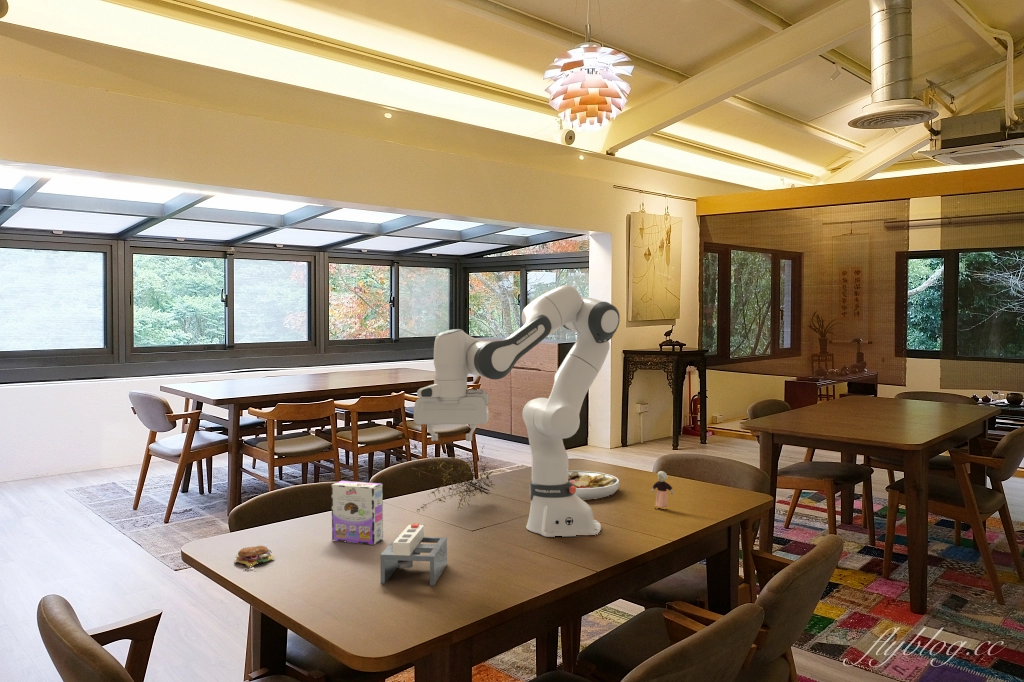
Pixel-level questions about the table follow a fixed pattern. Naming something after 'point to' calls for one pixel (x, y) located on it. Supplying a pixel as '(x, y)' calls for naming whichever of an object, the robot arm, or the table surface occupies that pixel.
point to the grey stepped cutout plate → (417, 558)
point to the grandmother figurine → (662, 490)
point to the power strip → (408, 543)
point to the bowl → (593, 484)
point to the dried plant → (456, 477)
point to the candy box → (357, 512)
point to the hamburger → (253, 555)
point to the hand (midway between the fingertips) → (451, 440)
